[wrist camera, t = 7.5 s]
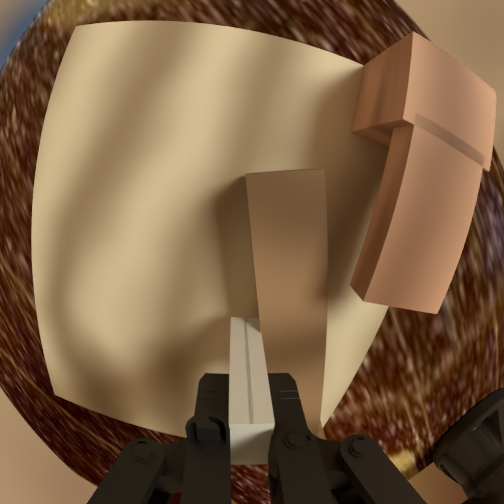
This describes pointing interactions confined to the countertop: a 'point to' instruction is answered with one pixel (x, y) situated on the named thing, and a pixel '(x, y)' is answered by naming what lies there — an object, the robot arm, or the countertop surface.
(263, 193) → the link
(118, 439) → the countertop surface
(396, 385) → the countertop surface
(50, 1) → the countertop surface
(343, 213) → the board
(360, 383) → the countertop surface
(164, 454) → the robot arm
